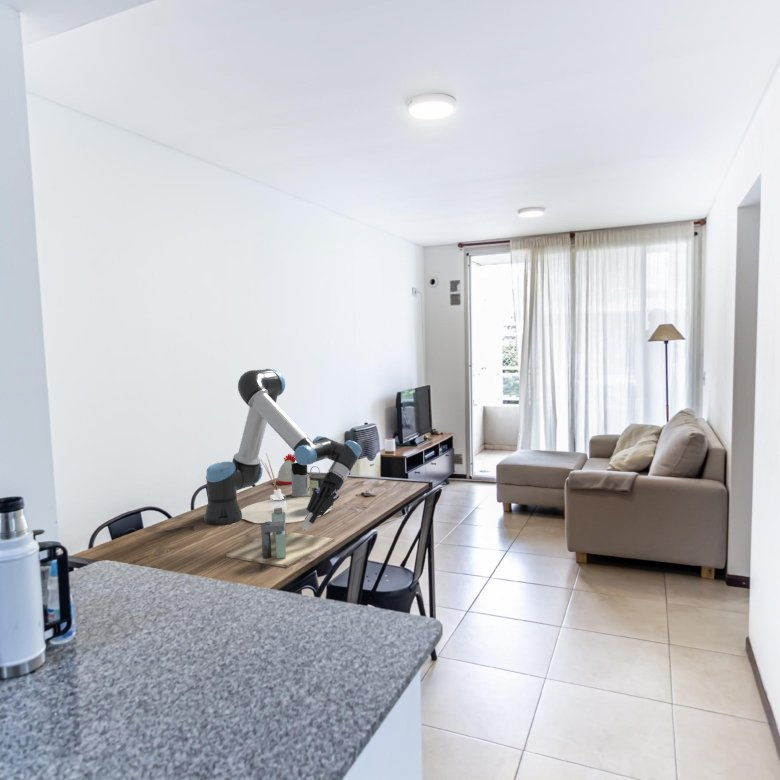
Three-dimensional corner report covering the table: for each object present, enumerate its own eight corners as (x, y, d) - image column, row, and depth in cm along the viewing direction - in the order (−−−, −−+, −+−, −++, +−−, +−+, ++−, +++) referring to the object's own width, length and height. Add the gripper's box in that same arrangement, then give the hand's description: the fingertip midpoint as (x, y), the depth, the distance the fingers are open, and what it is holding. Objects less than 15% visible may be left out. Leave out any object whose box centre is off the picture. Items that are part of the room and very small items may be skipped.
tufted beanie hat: (291, 485, 299) (290, 457, 298) (272, 483, 306) (270, 455, 305) (309, 480, 310) (308, 452, 309) (290, 477, 318) (289, 450, 317)
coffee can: (336, 503, 260) (335, 473, 259) (329, 510, 250) (328, 478, 249) (314, 503, 263) (313, 472, 262) (307, 509, 252) (306, 477, 251)
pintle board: (226, 556, 197) (224, 525, 196) (277, 532, 222) (276, 505, 221) (287, 567, 185) (286, 535, 184) (334, 540, 210) (333, 511, 209)
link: (272, 532, 218) (271, 512, 218) (285, 531, 219) (284, 510, 219) (273, 558, 190) (272, 535, 190) (289, 557, 192) (288, 533, 191)
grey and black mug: (293, 492, 284) (292, 462, 283) (322, 491, 284) (320, 461, 283) (289, 496, 276) (288, 465, 275) (318, 496, 275) (317, 465, 274)
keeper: (262, 562, 190) (260, 527, 189) (263, 557, 195) (261, 522, 194) (285, 560, 191) (283, 525, 190) (285, 555, 196) (284, 520, 195)
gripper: (352, 484, 221) (321, 538, 210) (330, 479, 230) (298, 531, 219) (342, 473, 217) (309, 527, 206) (319, 469, 226) (287, 521, 215)
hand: (303, 529), depth 212 cm, fingers closed
